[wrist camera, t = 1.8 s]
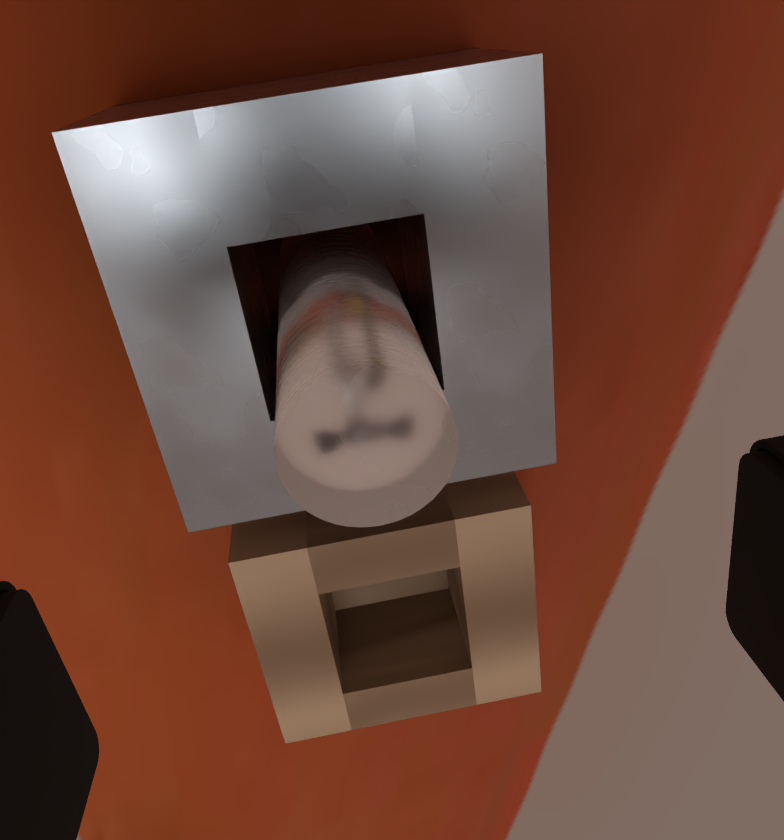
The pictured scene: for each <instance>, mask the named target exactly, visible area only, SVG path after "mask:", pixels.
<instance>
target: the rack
mask: <svg viewBox="0 0 784 840" xmlns="http://www.w3.org/2000/svg"><path fill="white" fill-rule="evenodd" d="M228 564H229V567H230V570H231V573H232V576H233V579H234V583H235V586H236V589H237V592H238V595H239V598H240V602H241V605H242V608H243V611H244V614H245V617H246V620H247V624H248V627H249V630H250V633H251V636H252V639H253V643H254V646H255V649H256V652H257V655H258V658H259V661H260V665H261V668H262V671H263V674H264V677H265V680H266V684H267V687H268V690H269V693H270V696H271V699H272V702H273V706H274V709H275V712H276V715H277V718H278V721H279V725H280V728H281V731H282V734H283V737H284V740H285V743H290V742H295V741H300V740H305V739H310V738H315V737H320V736H325V735H330V734H335V733H339V732H344V731H349V730H354V729H359V728H364V727H369V726H374V725H379V724H384V723H389V722H394V721H399V720H404V719H408V718H413V717H418V716H423V715H428V714H433V713H438V712H443V711H448V710H453V709H458V708H463V707H468V706H473V705H477V704H482V703H487V702H492V701H497V700H502V699H507V698H512V697H517V696H522V695H527V694H532V693H537V692H541V678H540V660H539V642H538V624H537V606H536V588H535V570H534V552H533V534H532V516H531V505H530V503H529V501H528V499H527V497H526V495H525V493H524V491H523V489H522V487H521V485H520V483H519V481H518V479H517V477H516V476H515V474H514V472H513V471H512V472H506V473H501V474H496V475H490V476H485V477H480V478H474V479H469V480H464V481H458V482H453V483H448V484H445V486H444V487H443V488H442V490H441V491H440V492H439V493H438V494H437V495H436V497H435V498H434V499H433V500H432V501H430V502H429V503H428V504H427V505H426V506H424V507H423V508H422V509H420V510H418V511H417V512H415V513H414V514H412V515H410V516H408V517H406V518H404V519H401V520H398V521H396V522H393V523H389V524H385V525H381V526H374V527H347V526H342V525H337V524H333V523H330V522H327V521H324V520H322V519H320V518H318V517H315V516H314V515H312V514H311V513H309V512H307V511H306V510H304V511H299V512H294V513H289V514H283V515H278V516H273V517H267V518H262V519H257V520H251V521H246V522H241V523H235V524H233V525H232V534H231V543H230V553H229V562H228Z"/></svg>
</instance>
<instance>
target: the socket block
mask: <svg viewBox="0 0 784 840" xmlns="http://www.w3.org/2000/svg"><path fill="white" fill-rule="evenodd" d="M52 135H53V138H54V141H55V144H56V147H57V150H58V153H59V156H60V159H61V162H62V164H63V167H64V170H65V173H66V176H67V179H68V182H69V185H70V188H71V191H72V194H73V197H74V200H75V202H76V205H77V208H78V211H79V214H80V217H81V220H82V223H83V226H84V229H85V232H86V235H87V238H88V240H89V243H90V246H91V249H92V252H93V255H94V258H95V261H96V264H97V267H98V270H99V273H100V276H101V278H102V281H103V284H104V287H105V290H106V293H107V296H108V299H109V302H110V305H111V308H112V311H113V314H114V316H115V319H116V322H117V325H118V328H119V331H120V334H121V337H122V340H123V343H124V346H125V349H126V352H127V354H128V357H129V360H130V363H131V366H132V369H133V372H134V375H135V378H136V381H137V384H138V387H139V390H140V392H141V395H142V398H143V401H144V404H145V407H146V410H147V413H148V416H149V419H150V422H151V425H152V428H153V431H154V433H155V436H156V439H157V442H158V445H159V448H160V451H161V454H162V457H163V460H164V463H165V466H166V469H167V471H168V474H169V477H170V480H171V483H172V486H173V489H174V492H175V495H176V498H177V501H178V504H179V507H180V509H181V512H182V515H183V518H184V521H185V524H186V527H187V530H188V532H193V531H198V530H204V529H209V528H214V527H220V526H225V525H230V524H235V523H241V522H246V521H251V520H257V519H262V518H267V517H273V516H278V515H283V514H289V513H294V512H299V511H304V509H303V508H302V507H301V506H299V505H298V504H297V503H296V502H295V501H294V500H293V499H292V498H291V496H290V495H289V494H288V492H287V491H286V489H285V488H284V486H283V484H282V482H281V480H280V478H279V475H278V472H277V469H276V464H275V458H274V441H275V408H276V375H277V342H278V333H275V334H274V331H273V327H272V323H271V318H270V314H269V310H268V305H267V301H266V297H265V293H264V288H263V284H262V280H261V275H260V271H259V267H258V262H257V258H256V254H255V250H254V245H253V243H254V242H260V241H266V240H272V239H277V238H283V237H289V236H295V235H301V234H307V233H313V232H318V231H324V230H330V229H336V228H342V227H348V226H354V225H359V224H365V223H371V222H377V221H383V220H389V219H395V218H397V222H398V230H399V237H400V245H401V252H402V260H403V267H404V275H405V282H406V290H407V297H408V305H409V310H407V311H408V313H409V315H410V318H411V320H412V322H413V324H414V327H415V329H416V331H417V334H418V336H419V338H420V341H421V343H422V345H423V347H424V350H425V352H426V354H427V357H428V359H429V361H430V364H431V366H432V368H433V370H434V373H435V375H436V377H437V380H438V382H439V384H440V387H441V389H442V391H443V393H444V396H445V398H446V400H447V403H448V405H449V407H450V410H451V412H452V414H453V417H454V420H455V423H456V426H457V431H458V444H459V446H458V454H457V459H456V463H455V466H454V469H453V471H452V473H451V476H450V477H449V479H448V481H447V483H446V484H448V483H453V482H458V481H464V480H469V479H474V478H480V477H485V476H490V475H496V474H501V473H506V472H512V471H517V470H522V469H527V468H533V467H538V466H543V465H549V464H554V463H556V436H555V406H554V377H553V347H552V317H551V288H550V258H549V228H548V199H547V169H546V140H545V110H544V80H543V53H533V52H521V51H509V50H496V49H484V48H472V49H466V50H460V51H453V52H447V53H441V54H435V55H428V56H422V57H416V58H410V59H404V60H397V61H391V62H385V63H379V64H372V65H366V66H360V67H354V68H348V69H341V70H335V71H329V72H323V73H316V74H310V75H304V76H298V77H292V78H285V79H279V80H273V81H267V82H260V83H254V84H248V85H242V86H235V87H229V88H223V89H217V90H211V91H204V92H198V93H192V94H186V95H179V96H173V97H167V98H161V99H155V100H148V101H142V102H136V103H130V104H123V105H117V106H113V107H111V108H108V109H106V110H104V111H101V112H99V113H97V114H94V115H92V116H90V117H87V118H85V119H83V120H80V121H78V122H75V123H73V124H71V125H68V126H66V127H64V128H61V129H59V130H57V131H54V132H52Z"/></svg>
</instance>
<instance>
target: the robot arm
mask: <svg viewBox="0 0 784 840" xmlns="http://www.w3.org/2000/svg"><path fill="white" fill-rule="evenodd" d="M726 616H727V620H728V623H729V626H730V629H731V631H732V633H733V634H734V636H735V638H736V639H737V640H738V641H739V643H740V644H741V646H742V647H743V648H744V649H745V651H746V652H747V653H748V655H749V656H750V657H751V659H752V660H753V661H754V663H755V664H756V665H757V667H758V668H759V669H760V671H761V672H762V673H763V675H764V676H765V677H766V679H767V680H768V681H769V683H770V684H771V685H772V686H773V688H774V689H775V690H776V692H777V693H778V694H779V695H780V697H781V698H782V700H783V701H784V436H779V437H773V438H768V439H762V440H758V441H756V442H755V443H754V444H753V445H752V447H751V449H750V453H747V454H745V455H743V456H742V458H741V459H740V463H739V470H738V481H737V492H736V503H735V514H734V525H733V535H732V546H731V557H730V568H729V579H728V590H727V601H726ZM98 758H99V742H98V737H97V734H96V731H95V729H94V727H93V725H92V722H91V720H90V718H89V716H88V714H87V712H86V710H85V708H84V706H83V704H82V702H81V699H80V697H79V695H78V693H77V691H76V689H75V687H74V685H73V683H72V681H71V678H70V676H69V674H68V672H67V670H66V668H65V666H64V664H63V662H62V660H61V658H60V655H59V653H58V651H57V649H56V647H55V645H54V643H53V641H52V639H51V637H50V634H49V632H48V630H47V628H46V626H45V624H44V622H43V620H42V618H41V616H40V614H39V611H38V609H37V607H36V605H35V603H34V601H33V599H32V597H31V596H30V594H29V593H28V592H27V591H26V590H23V589H20V590H16V589H15V587H14V586H13V585H12V584H11V583H9V582H6V581H0V840H76V838H77V835H78V831H79V828H80V824H81V820H82V817H83V813H84V810H85V806H86V803H87V799H88V795H89V792H90V788H91V785H92V781H93V777H94V774H95V770H96V767H97V763H98Z"/></svg>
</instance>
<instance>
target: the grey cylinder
mask: <svg viewBox="0 0 784 840" xmlns="http://www.w3.org/2000/svg"><path fill="white" fill-rule="evenodd" d="M458 446H459V444H458V431H457V426H456V423H455V420H454V417H453V414H452V412H451V410H450V407H449V405H448V403H447V400H446V398H445V396H444V393H443V391H442V389H441V387H440V384H439V382H438V380H437V377H436V375H435V373H434V370H433V368H432V366H431V364H430V361H429V359H428V357H427V354H426V352H425V350H424V347H423V345H422V343H421V341H420V338H419V336H418V334H417V331H416V329H415V327H414V324H413V322H412V320H411V318H410V315H409V313H408V311H407V308H406V306H405V304H404V301H403V299H402V297H401V295H400V292H399V290H398V288H397V285H396V283H395V281H394V278H393V276H392V274H391V272H390V269H389V267H388V265H387V262H386V260H385V258H384V255H383V253H382V251H381V249H380V246H379V244H378V242H377V239H376V237H375V235H374V233H373V231H372V229H371V227H370V226H369V224H368V223H365V224H359V225H354V226H348V227H342V228H336V229H330V230H324V231H318V232H313V233H307V234H301V235H295V236H289V237H283V238H282V242H281V249H280V276H279V309H278V342H277V375H276V408H275V441H274V458H275V464H276V469H277V472H278V475H279V478H280V480H281V482H282V484H283V486H284V488H285V489H286V491H287V492H288V494H289V495H290V496H291V498H292V499H293V500H294V501H295V502H296V503H297V504H298V505H299V506H301V507H302V508H303V509H304V510H306V511H307V512H309V513H311V514H312V515H314V516H315V517H318V518H320V519H322V520H324V521H327V522H330V523H333V524H337V525H342V526H347V527H374V526H381V525H385V524H389V523H393V522H396V521H398V520H401V519H404V518H406V517H408V516H410V515H412V514H414V513H415V512H417V511H418V510H420V509H422V508H423V507H424V506H426V505H427V504H428V503H429V502H430V501H432V500H433V499H434V498H435V497H436V495H437V494H438V493H439V492H440V491H441V490H442V488H443V487H444V486H445V484H446V483H447V481H448V479H449V477H450V476H451V473H452V471H453V469H454V466H455V463H456V459H457V454H458Z"/></svg>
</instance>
